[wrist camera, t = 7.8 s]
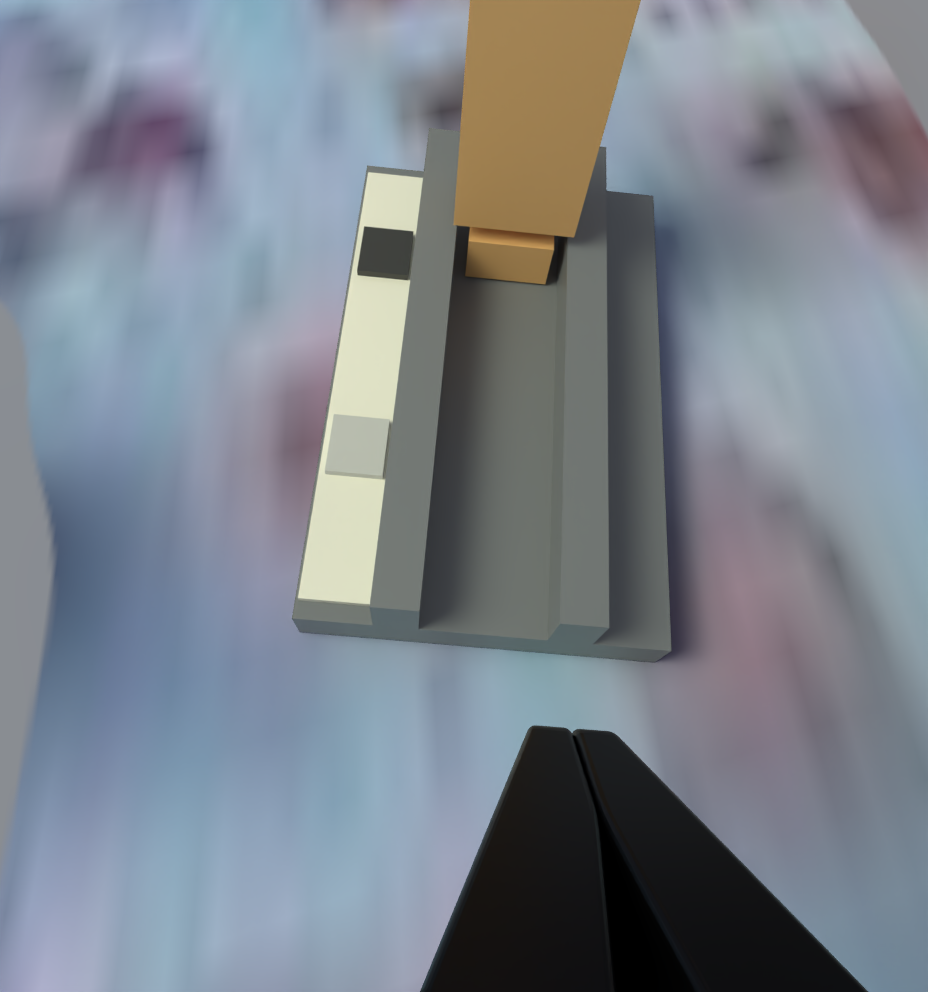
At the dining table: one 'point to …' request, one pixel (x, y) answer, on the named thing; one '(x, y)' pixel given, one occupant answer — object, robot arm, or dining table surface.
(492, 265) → the switch tab
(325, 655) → the dining table surface
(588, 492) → the switch housing
